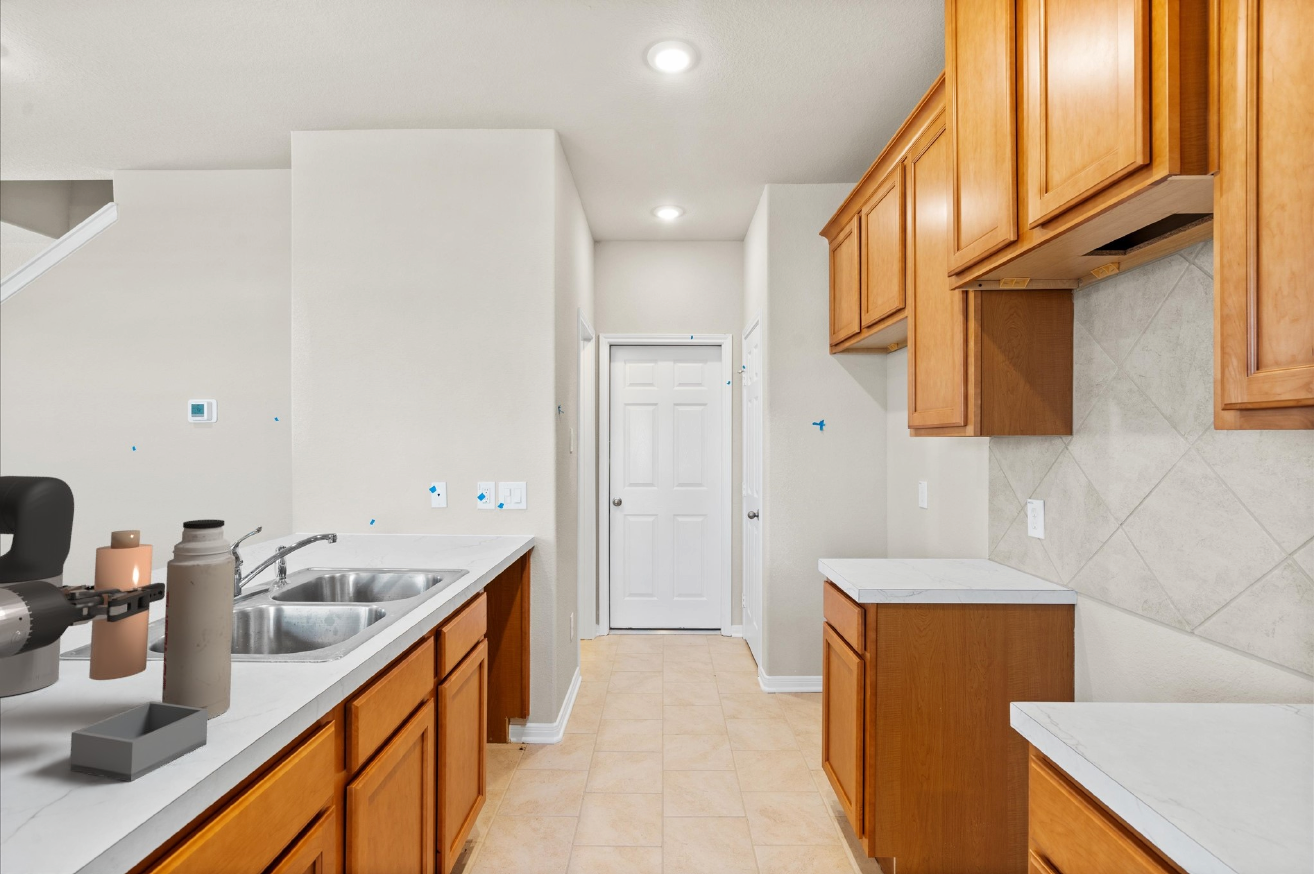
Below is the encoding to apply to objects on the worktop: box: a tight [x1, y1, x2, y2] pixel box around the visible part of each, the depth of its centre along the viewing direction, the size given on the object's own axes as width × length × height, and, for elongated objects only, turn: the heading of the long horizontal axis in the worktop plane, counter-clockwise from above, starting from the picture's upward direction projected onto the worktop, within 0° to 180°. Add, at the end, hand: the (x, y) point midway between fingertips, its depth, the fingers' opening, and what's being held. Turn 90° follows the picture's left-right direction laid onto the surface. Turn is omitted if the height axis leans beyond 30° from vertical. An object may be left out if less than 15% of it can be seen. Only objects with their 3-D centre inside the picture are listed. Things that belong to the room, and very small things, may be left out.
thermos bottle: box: [161, 519, 236, 721], centre depth 89 cm, size 8×8×28 cm
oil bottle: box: [88, 529, 154, 681], centre depth 78 cm, size 6×6×18 cm
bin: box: [69, 700, 208, 782], centre depth 76 cm, size 9×9×4 cm
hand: (140, 589), depth 81 cm, fingers closed on oil bottle, 5 cm apart
